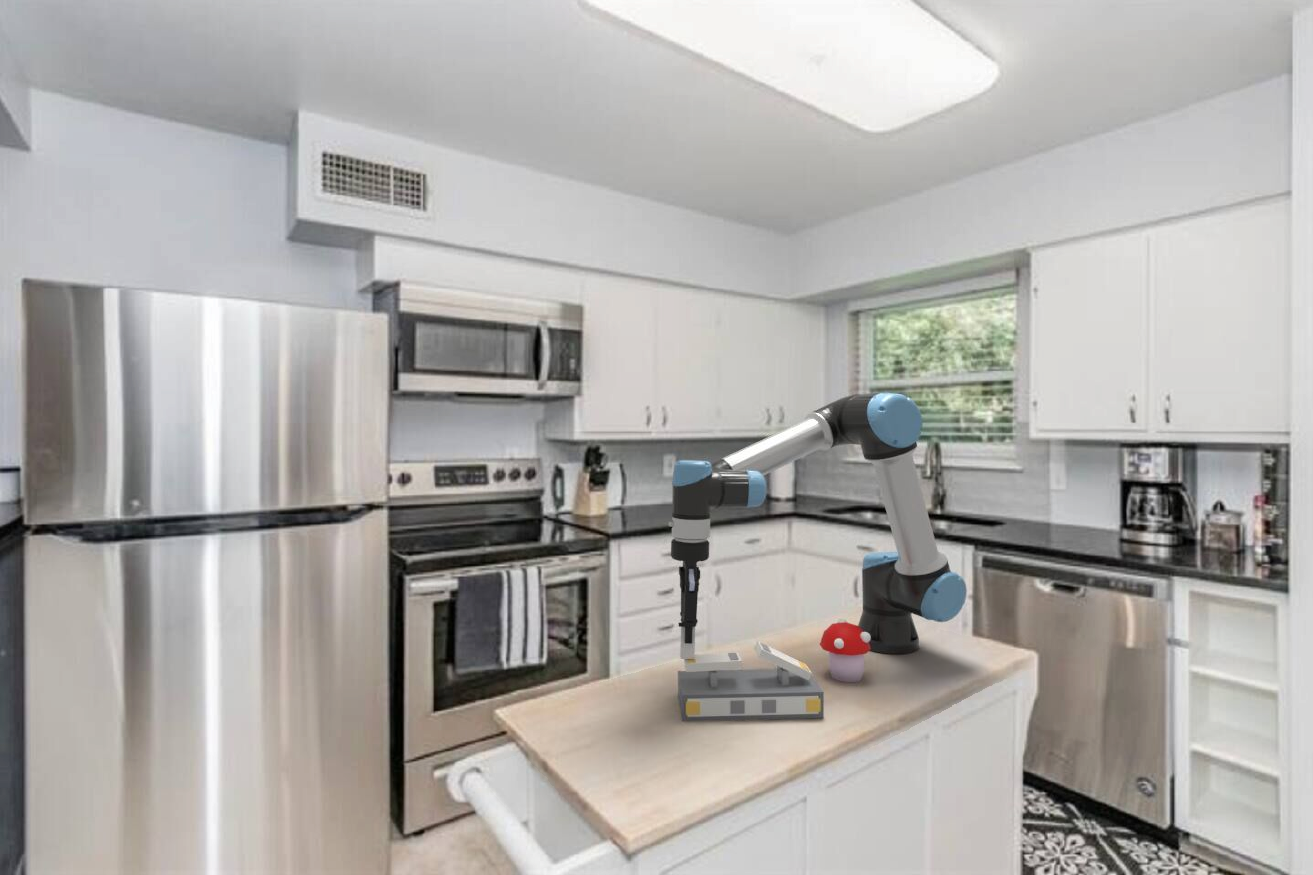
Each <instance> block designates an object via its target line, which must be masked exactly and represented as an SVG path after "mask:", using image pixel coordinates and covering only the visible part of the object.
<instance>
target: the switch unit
mask: <svg viewBox="0 0 1313 875" xmlns="http://www.w3.org/2000/svg"><path fill="white" fill-rule="evenodd" d="M677 696H678V703H679V710H680V716H681V721H682V722H707V721H710V722H711V721H712V722H713V721H746V720H748V721H750V720H754V721H755V720H791V719H793V720H794V719H795V720H796V719H799V720H800V719H824V714H825V713H824V711H825V710H824V709H825V708H824V698H825V697H824V691H823V689H822V688H821V686H820V685H819V684H818V681H817V680H816V679H815V677H814V676H813V675H811V677H810V679H809V681H808V680H806V679H804V678H802V677H800V676H798V675H796V674H794V673H792V672H790V671H787V670H785V669H783V668H781V667H779V666H777V665H776V668H763V669H761V668H758V669H757V668H756V669H732V670H715V671H698V672H686V670H678V671H677Z"/></svg>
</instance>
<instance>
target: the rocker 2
mask: <svg viewBox="0 0 1313 875" xmlns="http://www.w3.org/2000/svg"><path fill="white" fill-rule="evenodd" d="M753 649H754V651H755V653H756V655H757V657H758V658H760V659H763V660H764V661H767V662H769V663H771V664H773V665H775V666H776V667H777V666H779V667H781V668H783V669H785V670H787V671H790V672H792V673H794V674H796V675H798V676H800V677H802V678H804V679H806V680H808V681H809V679H810V677H811V675H812V674H813V672H812V671H811V670H810V668H809V667H808V665H807V664H806V663H804V662H803V661H800V660H798V659H796V658H793V657H792V656H790V655H787V654H786V653H784V652H781V651H779V650H777V649H775V648H773V647H770V646H769V645H766V644H765V643H762V642H760V641H756V643H755V646H754V648H753ZM812 676H813V675H812Z"/></svg>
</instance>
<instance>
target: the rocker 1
mask: <svg viewBox="0 0 1313 875" xmlns="http://www.w3.org/2000/svg"><path fill="white" fill-rule="evenodd" d="M739 653H740V652H737V651H736V652H735V651H734V652H733V651H732V652H718V653H717V652H715V653H702V654H698V653H697V654H694V659H683V664H684V669H685V670H684V671H686V672H698V671H715V670H743V661H742V658H741V656H740V654H739Z"/></svg>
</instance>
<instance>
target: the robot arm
mask: <svg viewBox="0 0 1313 875" xmlns="http://www.w3.org/2000/svg"><path fill="white" fill-rule="evenodd" d="M922 429H923V417H922V413H921V410H920V409H919V407H918V405H917V404H916V403H915V402H914V401H913V399H911V398H910V397H908V396H906V395H905V394H901V393H893V392H892V393H891V392H880V393H870V394H869V393H866V394H851V395H848V396H844V397H841V398H839V399H836V400H835V401H832V402H830V403H828V404H825V405H824V406H822V407H820V408H817V409H815V410H813V411H811V412H810V413H807V415H806V416H805V419H804V420H802V421H799V422H798V423H796V424H794V425H792V426H791V425H790V426H789V427H787V428H785V429H783V430H780V431H778V432H775V433H774V434H772V435H769V436H767V437H765V438H764V439H761V440H760V441H757V442H754V443H752V444H750V445H748V446H746V447H744V448H742V449H740V450H737V451H735V452H733V453H731V454H728V455H726V456H724V457H722V458H720V459H717V460H715V461H712V462H710V461H708V460H692V459H690V460H689V459H688V460H687V459H685V460H683V459H682V460H678V461H675V463H674V466H673V472H672V481H671V482H672V483H671V486H672V501H671V502H672V506H671V507H672V509H671V510H672V513H671V520H672V521H668V526H669V527H672V528H671V536H672V540H671V543H670V557H671V558H672V559H673V560H675V561H678V562H682V566H678V574H679V588H680V614H679V616H680V622H678V627H680V645H679V647H680V649H679V650H680V652H679V658H680V659H681V660H684V659H694V655H696V654H695V652H696V651H695V650H696V648H695V647H696V646H695V645H696V627H697V625H698V619H697V618H698V617H697V615H698V600H699V599H698V596H699V595H698V594H699V589H700V588H699V586H700V579H701V570H700V567H699V566H698V565H697V564H698V563H699V562H706V561H707V560H708V559H709V558H710V541H709V540H708V539H709V538H710V537H711V509H720V508H721V509H723V508H725V509H728V508H729V509H730V508H731V509H732V508H733V509H735V508H736V509H738V508H741V509H742V508H745V509H749V508H755V507H756V508H757V507H760V506H761V505H762V504H763V503H764V501H765V500H766V496H767V481H766V479H765V477H764V476H766V475H767V474H770V473H772V472H774V471H777V470H778V469H780V468H783V467H784V466H787V465H789V464H791V463H792V462H795V461H797V460H799V459H801V458H803V457H805V456H807V455H809V454H812V453H813V452H816V451H818V450H821V451H828V450H830V449H832V448H835V447H838V446H842V445H860V447H861V452H862V455H863V458H864V460H866V461H867V462H869V463H870V464H872V465H873V468H874V472H875V475H876V479H877V483H878V486H879V490H880V493H881V497H882V500H883V501H882V502H883V503H884V504H883V505H884V508H885V511H886V515H887V518H888V523H889V528H890V529H891V533H892V537H893V540H894V545H895V548H896V551H883V552H881V551H879V552H871V553H867V554H866V555H865V556H864V557H862V558H863V559H862V568H861V570H862V571H861V572H862V573H861V574H862V575H861V578H862V579H861V581H862V583H861V585H862V586H861V588H862V612H861V615H860V618H859V621H858V624H857V626H859V628H860V629H861V630H862V631H863V632H868V633H869V634H870V636H871V639H870V641H869V644H870V648H871V650H870V651H872V652H875V653H876V652H877V653H881V654H882V653H883V654H890V655H891V654H892V655H893V654H895V655H897V654H898V655H902V654H910V653H914V652H916V651H918V650H919V648H920V638H919V637H920V636H919V634H918V631H917V629H916V625H915V622H914V619H913V617H912V616H913V615H916V616H918V617H920V618H924V619H925V620H927V621H934V622H937V623H945V622H948V621H951V620H952V619H953V620H954V618H955V617H957V615H958V614H959V613H960V612H961V611H962V608H963V606H964V605H965V602H966V600H967V592H968V591H967V585H966V581H965V580H964V579H963V577H962V576H961V575H959V574H958V573H956V572H953V571H951V568H950V563H949V561H948V558H947V555H945V554H944V553H942V552H940V551H938V550H939V549H938V546H937V543H936V539H935V535H934V531H933V529H932V524H931V521H930V520H931V519H930V517H929V513H928V512H929V511H928V509H927V505H926V501H925V498H924V494H923V490H922V487H921V483H920V479H919V475H918V472H917V467H916V464H915V460H914V457H913V455H914V453H915V451H916V449H917V448H918V443H917V442H918V440H919V438H920V437H921V434H922V433H921V430H922ZM912 614H913V615H912Z"/></svg>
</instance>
